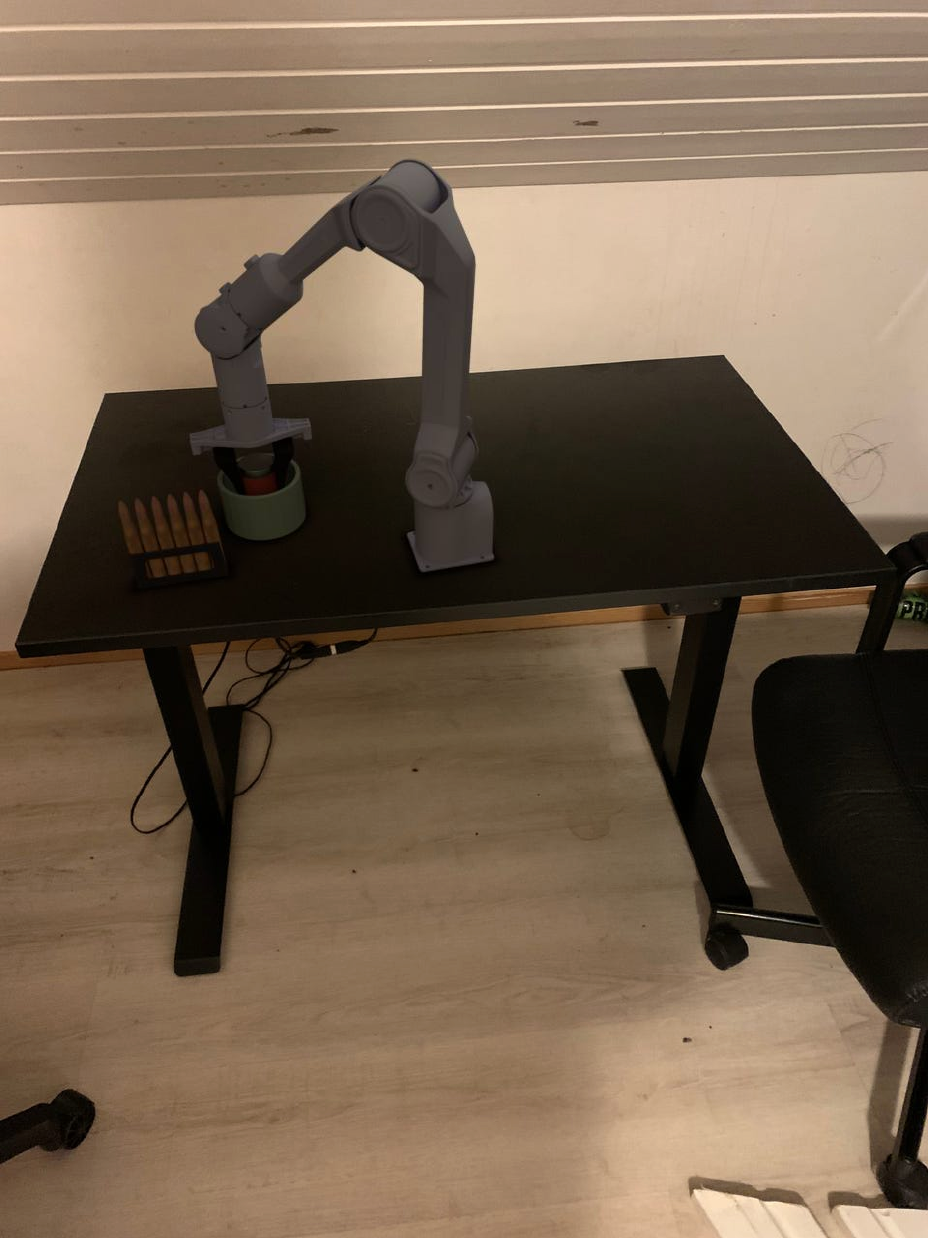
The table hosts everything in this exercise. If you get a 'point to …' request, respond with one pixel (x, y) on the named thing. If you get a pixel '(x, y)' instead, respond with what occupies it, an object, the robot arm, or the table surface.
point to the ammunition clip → (173, 543)
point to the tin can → (258, 474)
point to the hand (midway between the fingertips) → (262, 492)
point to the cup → (264, 507)
